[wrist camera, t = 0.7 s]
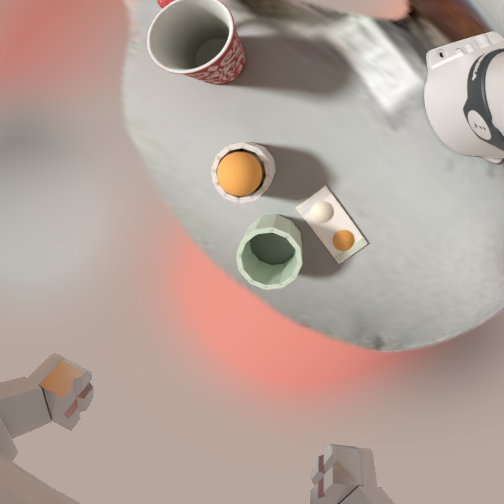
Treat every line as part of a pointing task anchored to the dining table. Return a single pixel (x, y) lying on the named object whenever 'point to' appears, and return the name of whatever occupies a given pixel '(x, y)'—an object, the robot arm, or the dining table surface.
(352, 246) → the card
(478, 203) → the dining table surface
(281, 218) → the tube green
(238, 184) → the ball orange
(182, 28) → the mug
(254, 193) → the tube grey
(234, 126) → the dining table surface
